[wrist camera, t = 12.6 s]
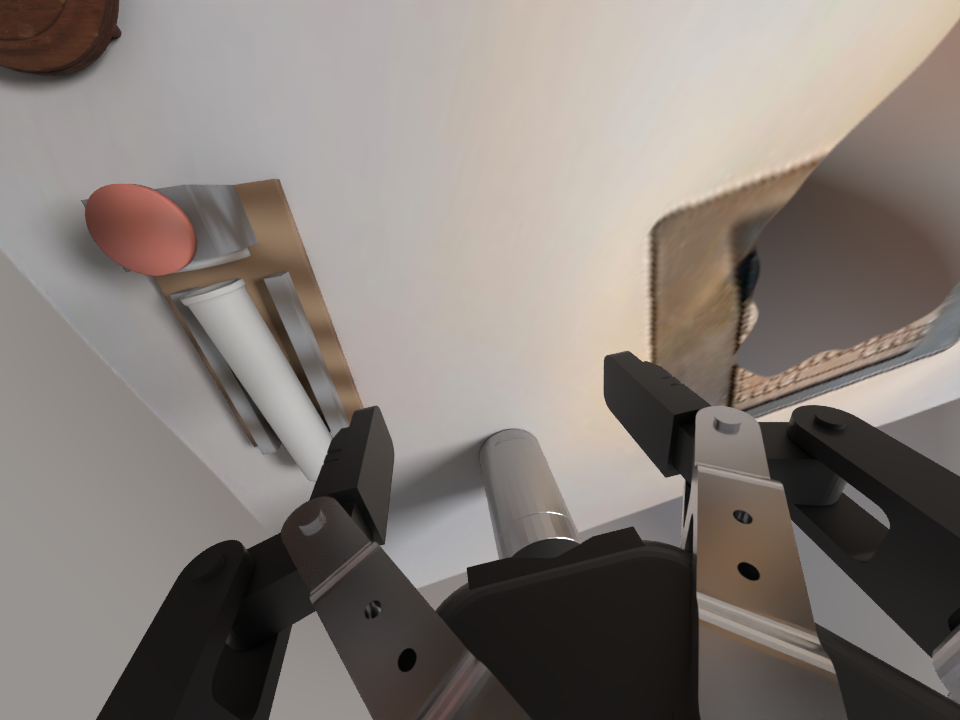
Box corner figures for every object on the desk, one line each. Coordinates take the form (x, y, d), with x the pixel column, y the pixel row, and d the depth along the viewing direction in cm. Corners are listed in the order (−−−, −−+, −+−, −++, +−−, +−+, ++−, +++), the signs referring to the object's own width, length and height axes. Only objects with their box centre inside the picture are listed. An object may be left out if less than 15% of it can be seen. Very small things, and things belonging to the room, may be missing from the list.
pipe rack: (367, 418, 45) (353, 473, 36) (258, 440, 44) (217, 502, 35) (276, 173, 31) (220, 168, 23) (117, 197, 30) (-3, 201, 22)
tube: (352, 476, 42) (238, 283, 30) (308, 499, 40) (169, 304, 28) (347, 451, 46) (245, 274, 34) (307, 471, 45) (186, 292, 33)
